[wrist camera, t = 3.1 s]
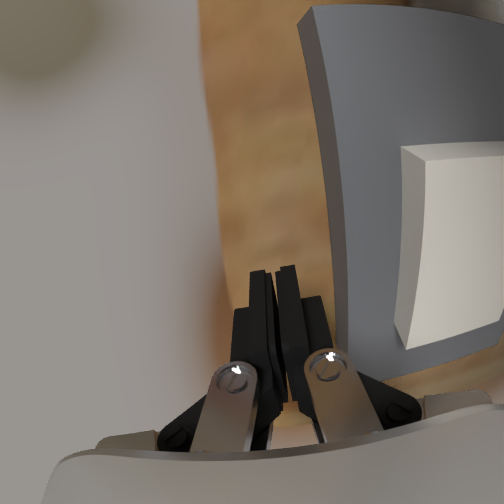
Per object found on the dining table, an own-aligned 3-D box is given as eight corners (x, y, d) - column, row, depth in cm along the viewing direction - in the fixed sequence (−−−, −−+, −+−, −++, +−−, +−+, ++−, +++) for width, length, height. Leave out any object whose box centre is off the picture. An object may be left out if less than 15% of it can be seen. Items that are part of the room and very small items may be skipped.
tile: (400, 146, 10) (425, 161, 9) (508, 141, 10) (537, 154, 8) (393, 321, 15) (405, 349, 13) (482, 297, 14) (499, 320, 12)
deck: (297, 24, 11) (311, 5, 8) (496, 35, 10) (542, 37, 6) (336, 343, 21) (346, 388, 18) (474, 309, 20) (497, 343, 17)
